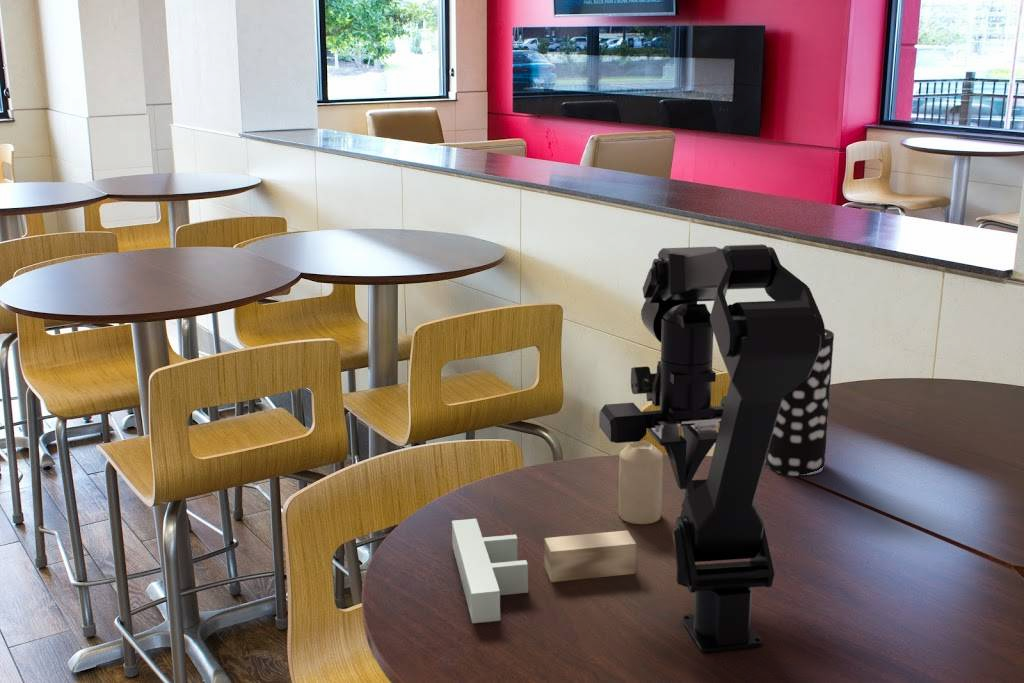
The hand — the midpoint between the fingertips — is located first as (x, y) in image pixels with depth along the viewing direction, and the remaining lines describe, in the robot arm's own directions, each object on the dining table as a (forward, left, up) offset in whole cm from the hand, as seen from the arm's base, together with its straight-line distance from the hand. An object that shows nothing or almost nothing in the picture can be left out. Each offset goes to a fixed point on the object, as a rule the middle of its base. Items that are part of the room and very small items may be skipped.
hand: (682, 487), depth 118 cm
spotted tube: (+25, -26, -10) cm, 37 cm away
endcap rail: (0, +23, -9) cm, 25 cm away
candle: (+13, +1, -10) cm, 16 cm away
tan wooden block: (0, +11, -10) cm, 15 cm away
